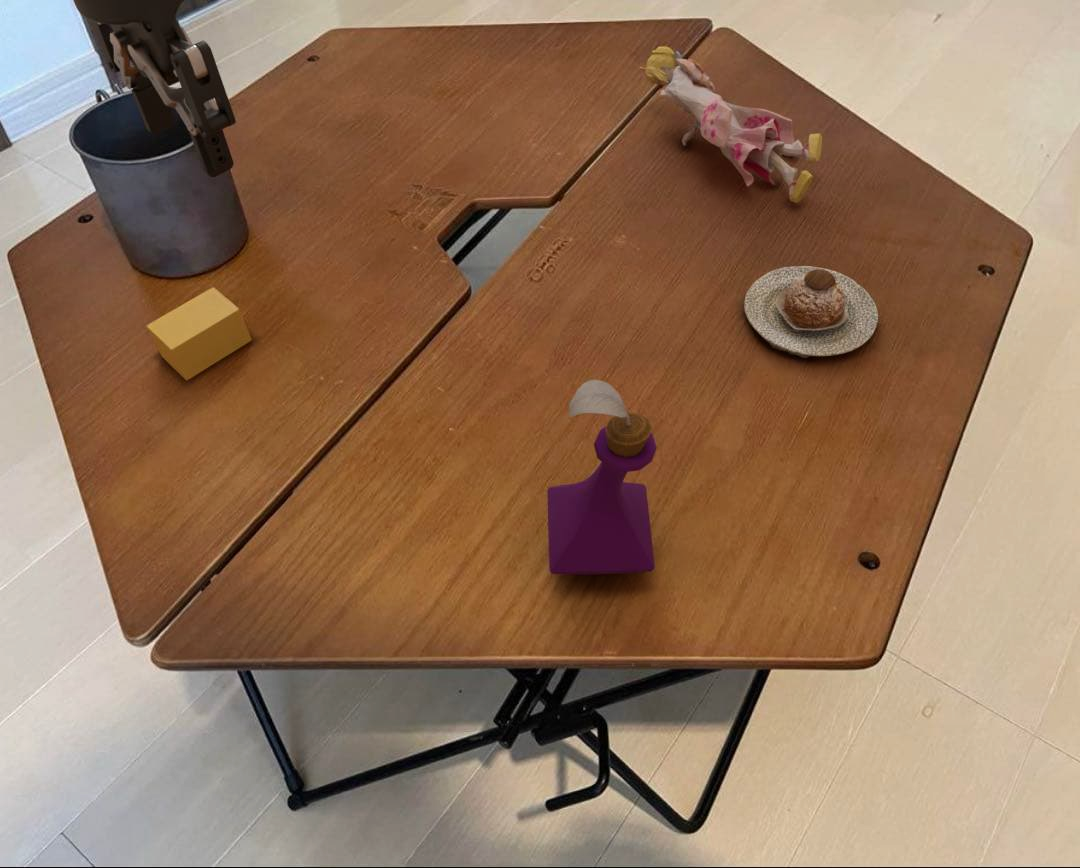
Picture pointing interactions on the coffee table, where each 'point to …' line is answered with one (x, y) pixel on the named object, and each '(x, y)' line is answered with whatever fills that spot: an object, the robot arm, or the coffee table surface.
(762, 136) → the figurine
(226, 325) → the block
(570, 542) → the perfume bottle
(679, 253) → the coffee table surface
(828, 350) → the pastry
